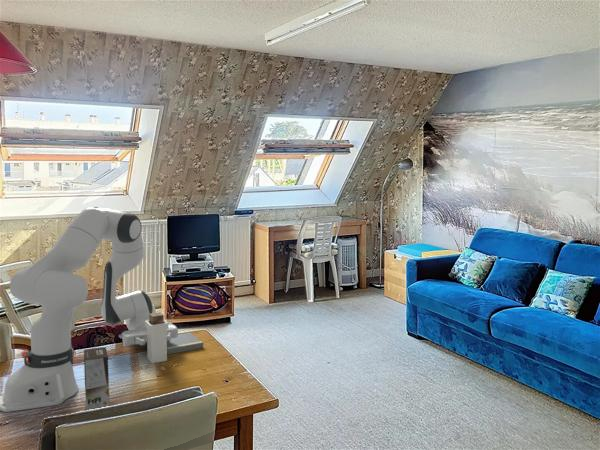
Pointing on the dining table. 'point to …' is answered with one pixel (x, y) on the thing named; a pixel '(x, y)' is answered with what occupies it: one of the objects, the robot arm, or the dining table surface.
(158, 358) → the white tall block
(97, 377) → the coffee box
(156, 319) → the block
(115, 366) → the dining table surface
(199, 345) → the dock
